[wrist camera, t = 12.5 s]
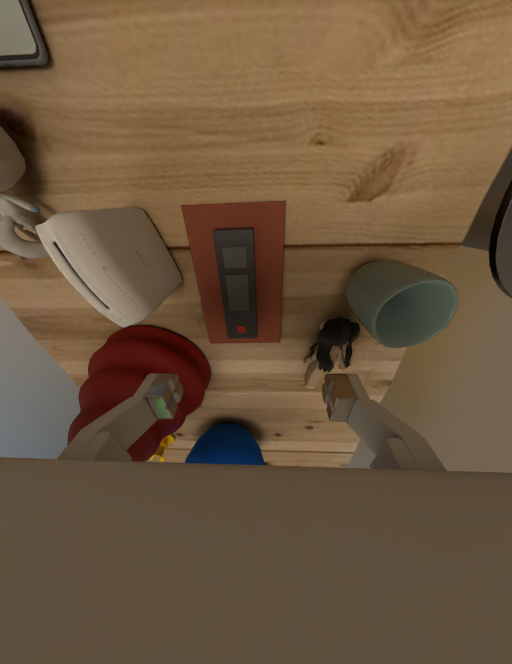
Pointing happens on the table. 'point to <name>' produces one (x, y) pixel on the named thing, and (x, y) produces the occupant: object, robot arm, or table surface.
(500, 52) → the table surface
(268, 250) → the mat
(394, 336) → the cup
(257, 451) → the vase
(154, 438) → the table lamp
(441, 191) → the table surface
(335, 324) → the toy figure
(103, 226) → the photo printer
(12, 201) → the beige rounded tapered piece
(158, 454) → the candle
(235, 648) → the robot arm
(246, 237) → the remote
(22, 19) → the smartphone
